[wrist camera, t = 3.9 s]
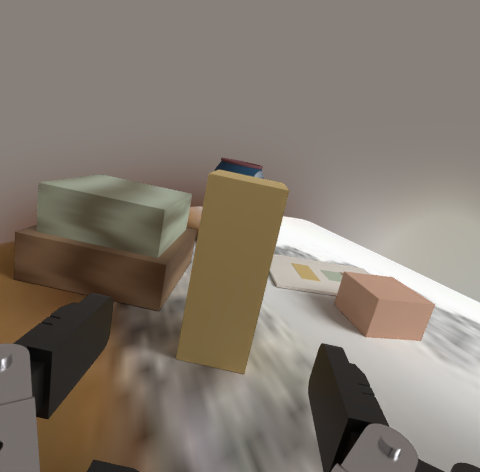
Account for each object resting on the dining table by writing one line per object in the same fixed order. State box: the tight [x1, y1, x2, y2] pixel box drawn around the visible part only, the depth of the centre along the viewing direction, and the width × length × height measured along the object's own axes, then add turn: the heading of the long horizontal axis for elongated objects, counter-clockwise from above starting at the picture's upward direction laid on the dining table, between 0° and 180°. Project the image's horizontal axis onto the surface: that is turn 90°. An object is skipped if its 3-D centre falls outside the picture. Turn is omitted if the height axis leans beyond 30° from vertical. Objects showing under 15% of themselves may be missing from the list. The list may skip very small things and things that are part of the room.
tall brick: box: [176, 170, 289, 374], centre depth 21 cm, size 4×4×12 cm
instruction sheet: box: [269, 254, 371, 296], centre depth 42 cm, size 16×11×1 cm
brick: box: [334, 271, 435, 341], centre depth 32 cm, size 6×6×4 cm
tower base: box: [14, 175, 197, 311], centre depth 31 cm, size 12×12×8 cm
